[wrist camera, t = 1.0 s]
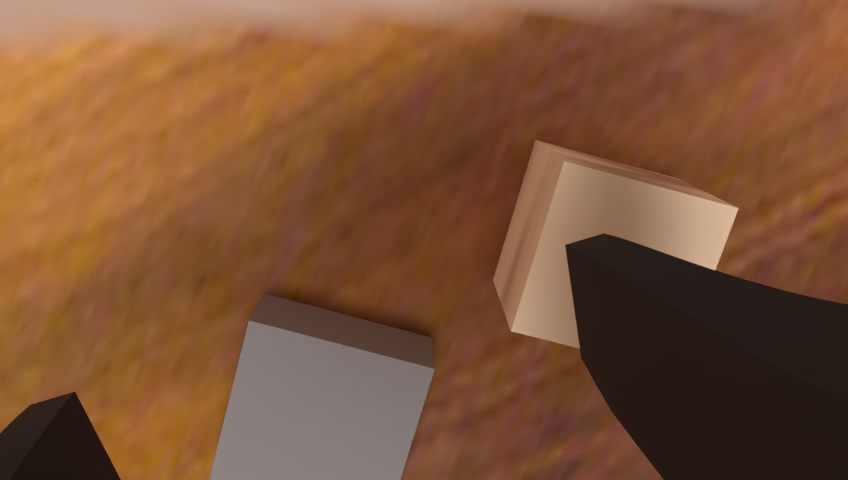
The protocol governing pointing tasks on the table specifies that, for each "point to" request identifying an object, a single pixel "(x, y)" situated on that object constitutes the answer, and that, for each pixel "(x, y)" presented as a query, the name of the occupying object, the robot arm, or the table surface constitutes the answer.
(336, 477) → the gray block
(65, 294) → the table surface
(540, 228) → the beech cube
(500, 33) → the table surface
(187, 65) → the table surface
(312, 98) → the table surface
